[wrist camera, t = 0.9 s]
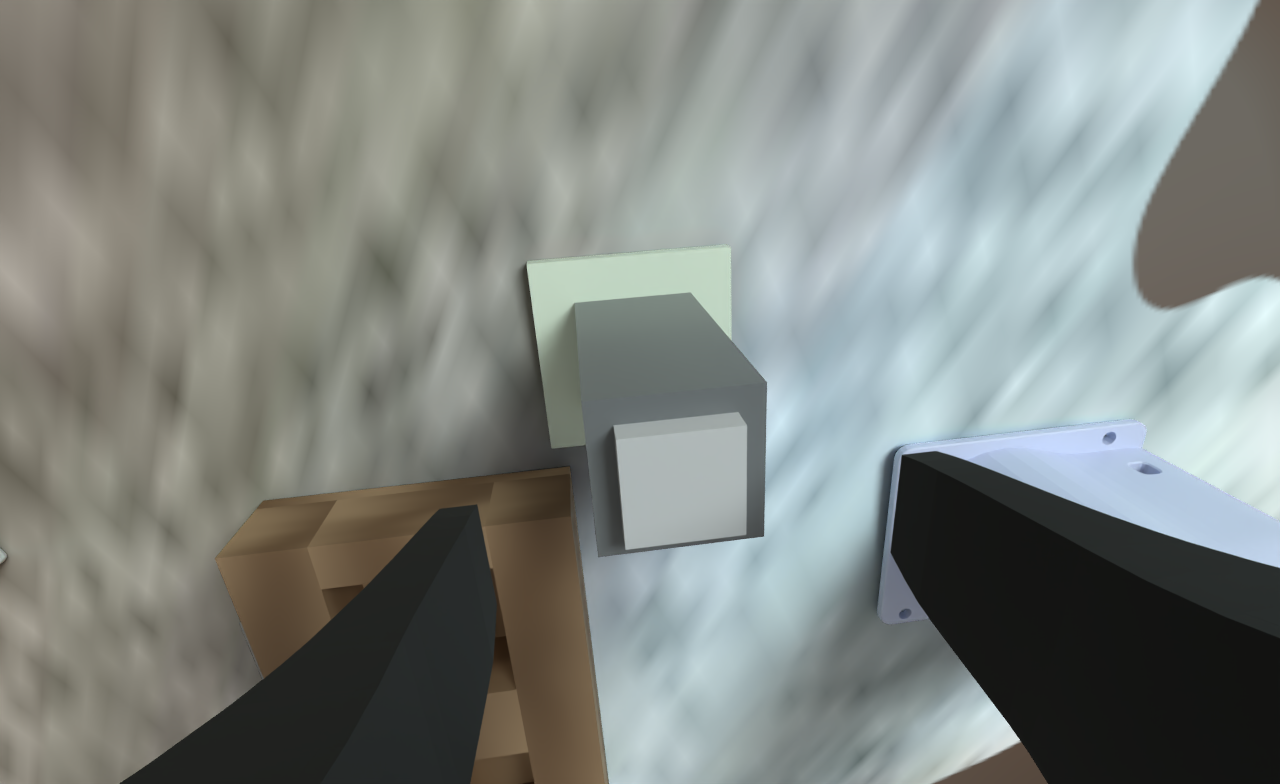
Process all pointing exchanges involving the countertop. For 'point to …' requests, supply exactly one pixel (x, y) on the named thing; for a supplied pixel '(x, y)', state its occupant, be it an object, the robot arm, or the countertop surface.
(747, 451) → the plug
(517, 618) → the divided box
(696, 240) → the countertop surface
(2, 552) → the small box
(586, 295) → the coaster
